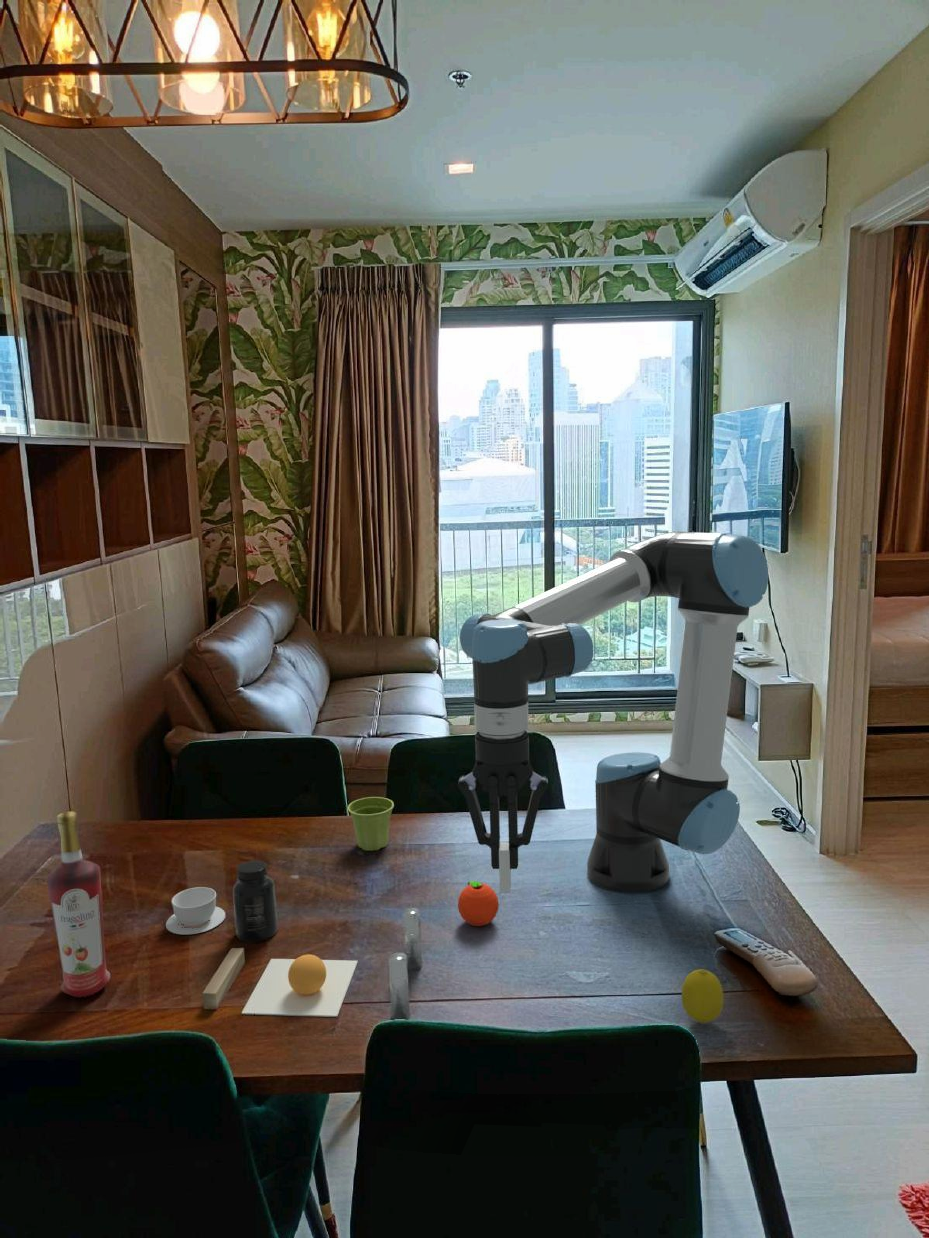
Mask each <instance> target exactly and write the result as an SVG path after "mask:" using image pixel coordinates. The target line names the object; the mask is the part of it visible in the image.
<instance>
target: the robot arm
mask: <svg viewBox="0 0 929 1238" xmlns="http://www.w3.org/2000/svg"><path fill="white" fill-rule="evenodd" d="M768 583H769V567H768V561H767V558H766V555H765V553H764V552H763V550H762V548H761V546H760V544H758V543H757V542H756V541H755V540H754V539H752V538H751V537H749V536H747V535H739V534H735V533H734V534H733V533H729V532H727V533H726V532H725V533H715V532H714V533H713V532H690V531H689V532H688V531H687V532H686V531H672V532H665V533H662V534H661V533H660V534H657V535H655V536H651V537H649V538H646V539H643V540H641V541H639V542H636V543H634V544H631V545H629V546H626V547H625V548H622V549H621V550H619V551H618V550H617V551H616V552H615V553H613V554H612V555H611V557H610V558H609V560H608V562H606V563H604V564H602V565H599V566H597V567H596V568H593V569H591V570H589V571H587V572H585V573H582V574H580V575H579V576H576V577H574V578H572V579H570V580H567V581H565V582H564V583H561V584H559V585H556V586H555V587H552V588H550V589H549V590H546V591H544V592H542V593H540V594H538V595H536V596H535V595H534V596H533V597H531V598H529V599H527V600H525V601H522V602H521V603H518V604H516V605H514V606H512V607H509V608H507V609H504V610H503V611H501V612H498V613H496V614H490V613H476V614H473V615H470V616H469V617H468V618H467V619H465V621H464V622H463V625H462V626H461V629H460V633H459V642H460V643H459V644H460V646H461V649H462V651H463V653H464V654H465V655H466V657H468V658H470V659H472V676H473V678H472V679H473V699H474V700H473V701H474V702H473V703H474V704H473V707H474V708H473V709H474V730H475V731H477V732H476V733H475V735H474V745H475V763H474V765H473V768H472V771H471V772H470V773H468V774H467V775H460V777H459V778H458V779H459V780H458V783H457V788H458V790H460V792H461V793H462V795H463V796H464V797H465V801H466V805H467V807H468V811H469V815H470V818H471V822H472V825H473V828H474V829H473V830H474V832H475V837H476V839H477V843H478V845H481V846H483V845H485V846H488V847H489V848H490V855H491V856H490V858H491V859H490V861H491V865H490V866H491V868H492V870H498V872H499V873H498V875H499V894H511V890H512V889H511V888H512V874H511V873H512V871H511V870H517V869H518V867H519V848H520V847H521V846H529V844H530V843H531V839H532V836H533V830H534V827H535V823H536V819H537V814H538V810H539V807H540V802H541V798H542V796H543V795H544V793H545V792H546V791H547V790H548V787H549V779H548V777H547V776H546V775H540V774H538V773H536V772H535V771H534V768H533V766H532V764H531V762H530V736H529V733H528V731H527V730H528V729H529V725H530V724H529V723H530V722H529V686H530V685H533V684H537V683H541V682H547V681H550V680H555V679H561V678H564V677H566V678H569V677H571V676H573V675H576V674H579V673H581V672H584V671H586V669H588V668H589V667H590V665H591V664H592V662H593V658H594V643H593V639H592V637H591V635H590V633H589V632H588V630H587V629H586V628H585V627H583V626H582V625H583V624H584V623H586V622H588V621H591V620H592V619H595V618H596V617H599V616H601V615H602V614H605V613H607V612H608V611H610V610H613V609H614V608H616V607H618V606H621V605H623V604H625V603H627V602H629V603H639V602H642V601H643V600H645V599H648V598H654V597H669V598H676V599H678V603H677V610H678V611H679V614H680V615H681V616H682V617H683V618H684V620H685V623H684V630H683V631H684V633H683V640H682V649H681V657H680V667H679V674H678V682H677V683H678V684H677V691H676V692H677V693H676V700H675V708H674V718H673V725H672V726H673V727H672V734H671V743H670V752H669V756H668V758H667V759H665V760H664V761H663V762H661V758H660V757H659V756H658V755H656V754H653V753H649V752H641V751H640V752H639V751H637V752H636V751H635V752H633V751H632V752H623V753H616V754H612V755H609V756H606V757H604V758H603V759H601V760H600V761H599V762H598V763H597V765H596V773H595V774H596V775H595V781H594V783H595V784H594V785H595V817H596V827H595V828H596V830H595V831H596V833H595V837H594V839H593V844H592V847H591V849H590V852H589V855H588V858H587V862H586V865H587V869H586V872H587V873H586V874H587V877H588V879H589V880H590V881H591V882H592V883H593V884H594V885H597V886H598V887H600V888H603V889H605V890H608V891H611V892H616V893H621V894H622V893H623V894H644V893H650V892H653V891H656V890H659V889H660V888H661V889H662V888H663V887H664V886H665V885H666V884H667V883H668V882H669V880H670V865H669V862H668V858H667V855H666V852H665V849H664V847H663V843H662V841H664V842H666V843H669V844H672V845H674V846H676V847H679V848H680V849H682V850H684V851H691V852H693V853H695V854H696V853H697V854H699V855H709V854H713V853H715V852H717V851H719V850H720V849H722V848H723V846H724V845H726V843H727V842H728V841H729V840H730V839H731V837H732V835H733V834H734V832H735V830H736V827H737V825H738V822H739V818H740V813H741V811H740V810H741V805H740V801H739V798H738V796H737V795H736V794H735V793H734V791H733V792H732V790H729V787H728V786H729V773H728V771H726V769H725V768H724V767H723V766H722V759H723V750H724V743H725V733H726V726H727V718H728V717H727V716H728V708H729V702H730V701H729V700H730V694H731V693H730V691H731V683H732V677H733V675H732V674H733V668H734V667H733V666H734V659H735V651H736V644H737V643H736V642H737V634H738V629H739V628H738V627H739V626H740V624H742V623H743V622H745V621H746V619H748V618H749V614H750V608H752V607H753V606H757V605H758V604H759V603H761V601H762V600H763V596H764V595H765V594H766V593H767V592H766V591H767V589H768ZM476 781H477V782H478V784H479V785H480V786H481V788H482V789H483V790H484V792H485V793H487V795H488V799H489V800H488V801H489V830H490V831H489V832H490V833H489V832H487V831H488V830H487V827H486V824H485V820H484V817H483V812H482V810H481V806H480V802H479V799H478V795H477V792H476V787H477V786H476V785H477V784H476ZM529 781H530V789H531V793H530V798H529V802H528V807H527V811H526V815H525V819H524V822H523V823H524V825H523V828H522V832H520V833H519V831H518V830H519V828H518V827H519V826H518V795H519V794H520V793H521V791H523V789H524V787H525V786H526V785H527V783H528V782H529ZM502 796H503V797H505V798H506V797H507V815H508V816H507V823H508V828H507V829H508V841H506V842H505V841H504V842H503V841H501V832H500V831H501V828H500V826H501V825H500V824H501V823H500V797H502Z"/></svg>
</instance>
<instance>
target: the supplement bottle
mask: <svg viewBox="0 0 929 1238" xmlns="http://www.w3.org/2000/svg"><path fill="white" fill-rule="evenodd" d="M267 868H268V867H267V863H266V862H264V861H262V860H250V861H246V862H243V863H241V864H240V865H238V866H237V868H236V869H237V871H236V872H237V876H236V878H237V881H236V883H235V884H234V886H233V888H232V898H233V909H234V921H235V931H236V932H235V933H236V936H237V938H238V939H239V940H241V941H242V942H245V943H260V942H262V941H263V942H264V941H266V940H268V939H270V938H272V937H273V936H274V935H275V934H276V933H277V932H278V931H277V930H278V915H277V902H276V892H275V889H276V888H275V883H274V880H273V879H272V878H271V877H269V876H268V869H267Z"/></svg>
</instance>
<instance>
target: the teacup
mask: <svg viewBox="0 0 929 1238" xmlns="http://www.w3.org/2000/svg"><path fill="white" fill-rule="evenodd" d="M170 903H171V906H172V909H173V914H172V915H171V916H169V917H168V918H167V920H166V922H165V927H166V930H168V931H169V932H170V933H172V934H176V935H184V936H185V935H188V936H189V935H196V934H200V933H204V932H208V931H210V930H212V929H214V928H215V927H217V926H219V925H221V923H222V922H223V921H224V920H225V918H226V911H225V910H224V909H223V908H221V907H219V906H216V905H217V893H216V890H215V889H213V888H210V887H205V886H204V887H203V886H198V887H191V888H187V889H184V890H182V891H179V892H178V893H176V894H175V895H174V896H173V897H172V898H171V901H170ZM208 920H210V921H208ZM207 921H208V922H207ZM178 924H179V925H178ZM181 924H184V926H183V925H181ZM202 924H205V925H202ZM199 925H202V926H200V927H201V928H193V929H192V928H184V927H195V926H198V927H199ZM182 927H183V928H182Z"/></svg>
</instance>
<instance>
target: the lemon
mask: <svg viewBox="0 0 929 1238" xmlns="http://www.w3.org/2000/svg"><path fill="white" fill-rule="evenodd" d="M681 1003H682V1007H683V1009H684V1010H685V1012H686V1014H687V1015H688V1016H689V1017H690V1018H691V1019H692V1020H694V1021H695V1022H698V1023H699V1024H701V1025H703V1024H706V1023H707V1024H708V1023H712V1022H713V1021H715V1020H716V1019H717V1018H718V1017H719V1016H720V1015H721V1013H722V1010H723V1008H724V991H723V987H722V984H721V982H720V979H719V978H718V977H717V976H716V975H715V974H714V973H713V972H712V971H709V970H706V969H704V968H700V969H695V970H692V971H691V972H690V973H688V974H687V975H686V977H685V979H684V981H683V984H682V988H681Z"/></svg>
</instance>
